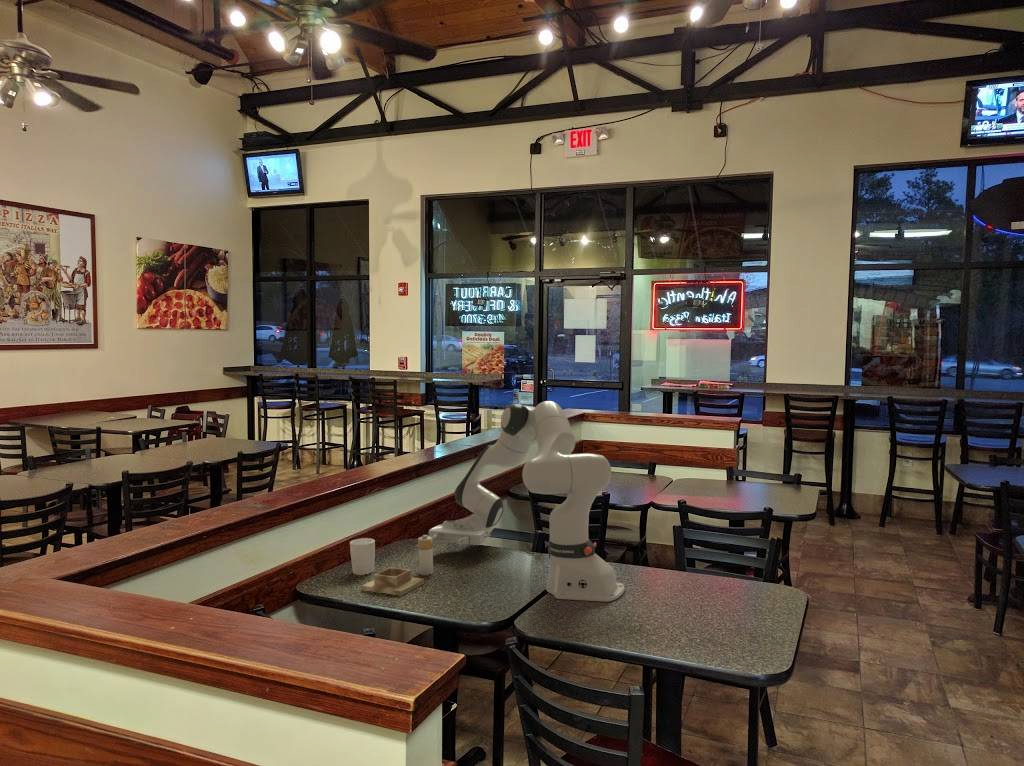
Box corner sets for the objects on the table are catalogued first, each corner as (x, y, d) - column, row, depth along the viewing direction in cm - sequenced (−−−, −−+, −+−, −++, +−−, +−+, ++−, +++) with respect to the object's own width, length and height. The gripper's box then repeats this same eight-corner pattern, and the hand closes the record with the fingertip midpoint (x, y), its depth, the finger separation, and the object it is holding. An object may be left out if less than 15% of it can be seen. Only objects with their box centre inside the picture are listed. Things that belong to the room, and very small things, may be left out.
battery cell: (436, 571, 226) (434, 534, 225) (428, 576, 222) (427, 538, 221) (424, 570, 228) (422, 533, 227) (416, 574, 224) (415, 536, 223)
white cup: (348, 570, 230) (347, 540, 230) (372, 567, 234) (371, 536, 233) (354, 577, 223) (352, 546, 223) (378, 573, 226) (377, 542, 226)
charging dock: (424, 583, 215) (423, 568, 215) (401, 596, 204) (400, 581, 204) (386, 578, 221) (385, 564, 221) (361, 590, 210) (361, 575, 210)
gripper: (493, 543, 243) (473, 553, 231) (441, 538, 252) (420, 548, 240) (492, 524, 243) (472, 534, 231) (441, 520, 252) (419, 529, 240)
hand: (445, 541), depth 235 cm, fingers open, 8 cm apart
